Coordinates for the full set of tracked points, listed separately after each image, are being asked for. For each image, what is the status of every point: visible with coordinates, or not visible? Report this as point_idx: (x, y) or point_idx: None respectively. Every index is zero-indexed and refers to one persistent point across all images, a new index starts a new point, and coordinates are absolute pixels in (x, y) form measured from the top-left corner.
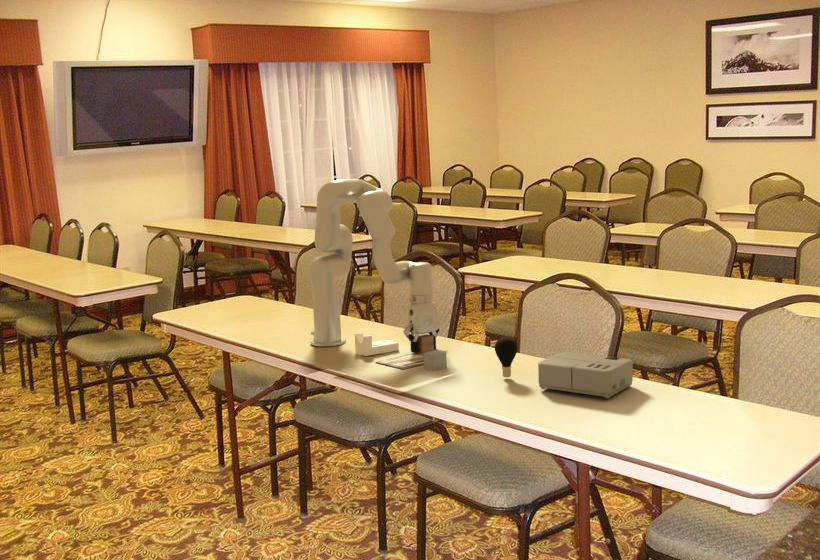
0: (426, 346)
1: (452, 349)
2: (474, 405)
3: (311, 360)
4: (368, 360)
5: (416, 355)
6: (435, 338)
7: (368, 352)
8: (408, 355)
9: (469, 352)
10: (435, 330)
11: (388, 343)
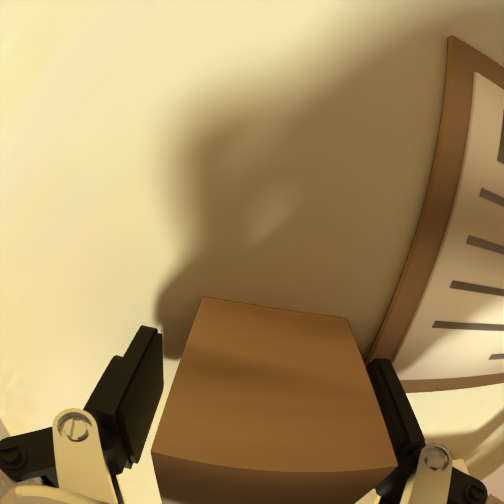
0: (308, 367)
1: (26, 231)
2: None
3: (481, 480)
4: (498, 420)
5: (421, 328)
6: (103, 403)
7: (458, 469)
8: (430, 369)
9: (35, 34)
10: (79, 501)
11: None
